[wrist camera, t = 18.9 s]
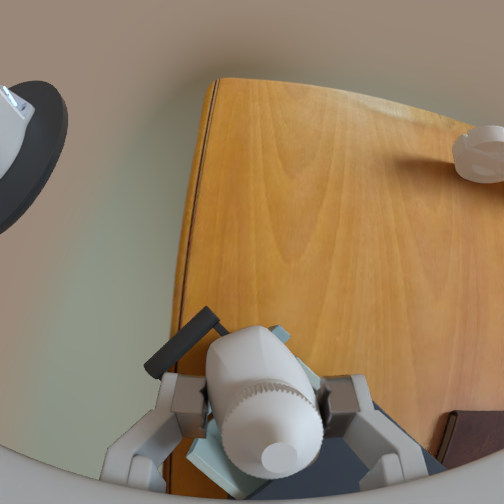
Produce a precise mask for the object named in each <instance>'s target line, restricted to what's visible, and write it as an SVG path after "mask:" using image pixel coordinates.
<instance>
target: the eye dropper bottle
mask: <svg viewBox="0 0 504 504" xmlns="http://www.w3.org/2000/svg"><path fill="white" fill-rule="evenodd" d="M206 384H207V392H208V398H209V403H210V407H211V410H212V413H213V416H214V419H215V422H216V424H217V426H218V428H219V430H220V432H221V437H222V440H221V441H222V442H223V445H222V446H223V447H224V451H226V455H228V459H230V460H231V463H234V464H235V465H234V466H237V467H238V469H240V470H242V472H246V473H247V474H251V476H256V478H258V477H260V478H261V479H263V478H266V479H275V478H276V479H278V478H283V477H288V476H289V475H293V474H294V473H297V472H298V471H301V470H302V469H304V468H306V467H308V466H310V465H311V464H313V463H314V462H315V461H316V460H317V458H318V456H319V453H320V448H321V444H322V442H321V441H322V440H323V437H322V436H323V435H324V433H323V430H324V429H323V428H322V426H323V424H322V423H321V422H322V419H321V415H320V410H319V405H318V402H317V399H316V396H315V393H314V390H313V388H312V385H311V383H310V381H309V379H308V377H307V375H306V374H305V372H304V370H303V368H302V367H301V365H300V364H299V362H298V361H297V359H296V358H295V357H294V355H293V354H292V353H291V352H290V350H289V349H288V348H287V347H286V346H285V345H284V344H283V343H282V342H281V341H280V340H279V339H278V338H277V337H276V336H275V335H274V334H273V333H272V332H271V331H269V330H268V329H267V328H264V327H262V326H260V325H257V326H249V327H246V328H243V329H241V330H238V331H235V332H233V333H230V334H228V335H225V336H223V337H221V338H218V339H216V340H215V341H214V342H213V343H211V344H210V347H209V349H208V351H207V359H206Z"/></svg>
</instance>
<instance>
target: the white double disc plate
mask: <svg viewBox="0 0 504 504" xmlns="http://www.w3.org/2000/svg"><path fill="white" fill-rule="evenodd" d="M467 133H468V136H467V135H465V134H462V135H461V136H460V137H459V138H458V139H457V140H456V141H455V142H454V144H453V147H452V153H453V158H454V164H455V169H456V171H457V173H458V174H459V175H460V176H461V177H463V178H464V179H467V180H469V181H473V182H477V183H496V182H501V181H504V127H501V126H482V127H477V128H474V129H471V130H469V131H467Z"/></svg>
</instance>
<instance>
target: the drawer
mask: <svg viewBox="0 0 504 504" xmlns="http://www.w3.org/2000/svg"><path fill="white" fill-rule="evenodd" d="M219 321H220V319H219V318H218V317H217V316H216V315H215V314H214V313H213V312H212V311H211V310H210V309H209V308H208V307H207V306H205V307H204V308H203V309H202V310H201V311H200V312H199V313H198V314H197V315H195V316H194V317H193V318H192V319H191V320H190V321H189V322H188V323H187V324H186V325H185V326H184V327H183V328H182V329H181V330H180V331H179V332H178V333H177V334H175V335H174V336H173V337H172V338H171V339H170V340H169V341H168V342H167V343H166V344H165V345H164V346H163V347H162V348H161V349H160V350H159V351H157V353H155V354H154V355H153V356H152V357H151V358H150V359H149V360H148V361H147V362H146V363H145V364H144V368H145V370H146V371H147V372H148V374H150V376H152V377H153V378H155V379H159V380H160V381H162V377H163V375H164V373H165V372H166V371H167V370H168V369H169V368H170V367H172V366H173V365H174V364H175V363H176V362H177V361H178V360H179V359H180V358H181V357H182V356H183V355H184V354H185V353H187V352H188V351H189V350H190V349H191V348H192V347H193V346H194V345H195V344H196V343H197V342H198V341H199V340H200V339H201V338H202V337H204V336H205V335H206V334H207V333H208V332H209V331H210V330H211V329H212V328H214V329H215V330H216V331H217V332H218V333H219V334H220V335H221V336H222V337H223V336H225V335H228V334H230V333H229V332H228V331H227V330H226V329H225V328H224V327H223V326H222V325H221V324H220V323H219ZM268 330H269V331H271V332H272V333H273V334H274V335H275V336H276V337H277V338H278V339H279V340H280V341H281V342H282V343H283V344H284V343H285V342H286V341H287V340H288V339H289V338H290V337H291V336H290V335H289V334H288V333H287V332H286V331H285V330H284V329H283V328H282V327H281V326H280V325H276V326H272V327H269V328H268ZM294 357H295V358H296V359H297V361H298V362H299V364H300V365H301V367H302V368H303V370H304V372H305V374H306V375H307V377H308V379H309V381H310V383H311V385H312V388H313V390H314V393H315V396H316V393H317V390H318V389H319V388H320V380H321V379H320V378H319V377H318V376H317V375H316V374H315V373H314V372H313V371H312V370H311V369H309V368H308V367H307V366H306V365H305V364H304V363H303V362H302V361H301V360H300V359H299V358H298V357H296V356H294ZM211 412H212V410H211V407H209V413H208V414H210V413H211ZM208 414H207V415H208ZM221 440H222V437H221V432H220V430H219V428H218V426H217V424H216V422H215V419H214V417H213V418H212V419H211V420H210V421H209V422H208V427H207V437H206V439H201V438H195V439H194V441H193V443H192V445H191V447H190V449H189V451H188V453H187V455H186V458H187V459H188V460H189V461H190V462H192V463H193V464H194V465H195V466H196V467H197V468H198V469H200V470H201V471H202V472H203V473H204V474H205V475H207V476H208V477H209V478H210V479H211V480H213V481H214V482H215V483H216V484H217V485H219V486H220V487H221V488H222V489H224V490H225V491H226V492H227V493H229V494H230V495H231V496H233V497H234V498H235V499H237V500H243V499H244V498H246V497H247V496H248V495H250V494H251V493H252V492H254V491H255V490H256V489H257V488H259V487H260V486H261V485H263V484H264V483H265V482H266V481H268V480H269V479H266V478H263V479H261V478H260V477H258V478H256V476H251V474H247V473H246V472H242V470H240V469H238V467H237V466H234V465H235V464H234V463H231V460H230V459H228V455H226V451H224V447H223V446H222V445H223V442H222V441H221Z"/></svg>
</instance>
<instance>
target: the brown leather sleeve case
mask: <svg viewBox="0 0 504 504" xmlns="http://www.w3.org/2000/svg"><path fill="white" fill-rule="evenodd" d="M502 449H504V411H459V410H453V411H451V412H450V415H449V419H448V422H447V425H446V429H445V432H444V435H443V438H442V441H441V444H440V447H439V450H438V453H437V456H436V460H437V461H438V462H439V463H440V464H441V465H443V466H444V467H445V468H446V469H447V470H450V469H453V468H456V467H459V466H462V465H464V464H467V463H470V462H473V461H475V460H478V459H480V458H483V457H485V456H488V455H490V454H492V453H495V452H497V451H499V450H502Z"/></svg>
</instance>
